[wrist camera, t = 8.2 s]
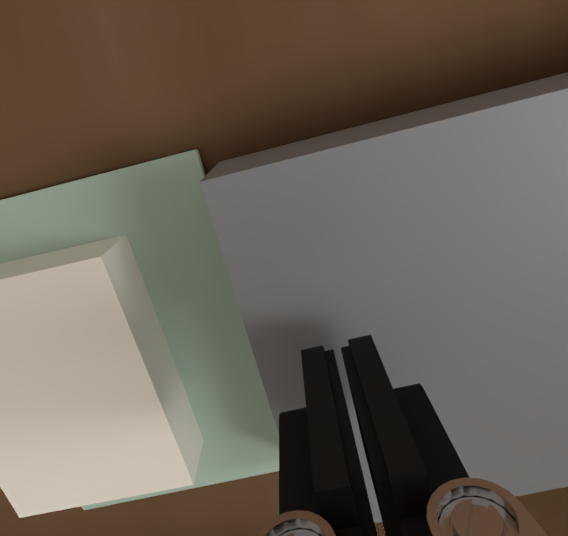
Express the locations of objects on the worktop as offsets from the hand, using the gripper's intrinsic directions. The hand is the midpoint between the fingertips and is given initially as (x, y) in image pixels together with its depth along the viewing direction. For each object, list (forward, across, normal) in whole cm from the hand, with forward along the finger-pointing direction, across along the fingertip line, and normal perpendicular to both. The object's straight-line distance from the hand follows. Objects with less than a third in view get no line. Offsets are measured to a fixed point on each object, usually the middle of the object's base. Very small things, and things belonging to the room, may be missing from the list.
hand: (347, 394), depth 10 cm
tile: (+2, +8, 0) cm, 9 cm away
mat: (+4, +7, 0) cm, 8 cm away
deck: (+4, -5, 0) cm, 7 cm away
